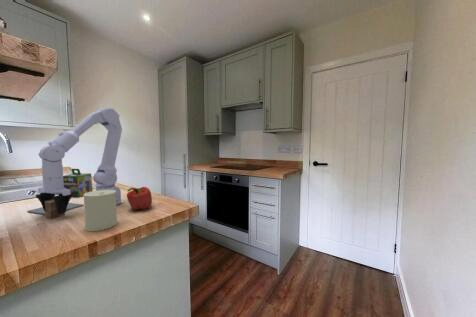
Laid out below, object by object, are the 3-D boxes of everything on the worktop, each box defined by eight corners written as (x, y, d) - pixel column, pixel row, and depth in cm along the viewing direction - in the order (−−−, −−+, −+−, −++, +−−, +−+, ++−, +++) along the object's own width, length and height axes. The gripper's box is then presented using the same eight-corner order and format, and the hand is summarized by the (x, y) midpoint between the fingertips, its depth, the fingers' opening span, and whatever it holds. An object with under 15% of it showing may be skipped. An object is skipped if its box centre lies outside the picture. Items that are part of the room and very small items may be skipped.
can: (88, 234, 61) (86, 196, 60) (81, 226, 67) (80, 191, 66) (121, 225, 68) (120, 191, 67) (112, 218, 74) (111, 187, 73)
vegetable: (136, 214, 78) (135, 190, 77) (119, 210, 82) (118, 187, 81) (158, 206, 87) (157, 184, 87) (142, 203, 92) (141, 182, 91)
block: (64, 214, 77) (63, 198, 77) (51, 218, 73) (50, 201, 72) (59, 214, 78) (58, 198, 77) (45, 218, 74) (44, 201, 73)
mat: (83, 205, 88) (83, 204, 88) (48, 215, 76) (48, 214, 76) (63, 203, 92) (63, 202, 92) (27, 212, 80) (27, 210, 79)
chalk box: (93, 193, 111) (91, 167, 110) (78, 197, 101) (76, 169, 100) (78, 192, 111) (76, 167, 110) (62, 197, 102) (60, 169, 101)
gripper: (27, 177, 73) (29, 213, 74) (53, 180, 68) (55, 218, 69) (50, 175, 79) (51, 207, 80) (75, 177, 75) (77, 211, 76)
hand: (55, 212), depth 75 cm, fingers open, 7 cm apart
